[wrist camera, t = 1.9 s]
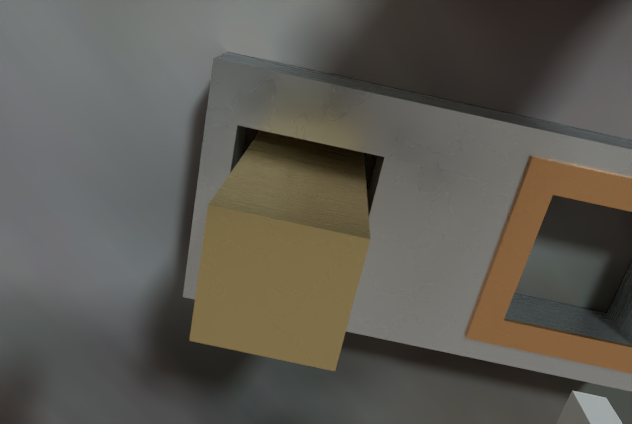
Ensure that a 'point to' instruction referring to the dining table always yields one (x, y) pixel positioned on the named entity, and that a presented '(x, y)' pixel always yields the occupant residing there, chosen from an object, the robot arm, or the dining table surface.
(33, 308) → the dining table surface
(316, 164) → the tan rectangular block
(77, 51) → the dining table surface
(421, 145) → the grey shape sorter board
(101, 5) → the dining table surface
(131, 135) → the dining table surface
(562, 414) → the robot arm
